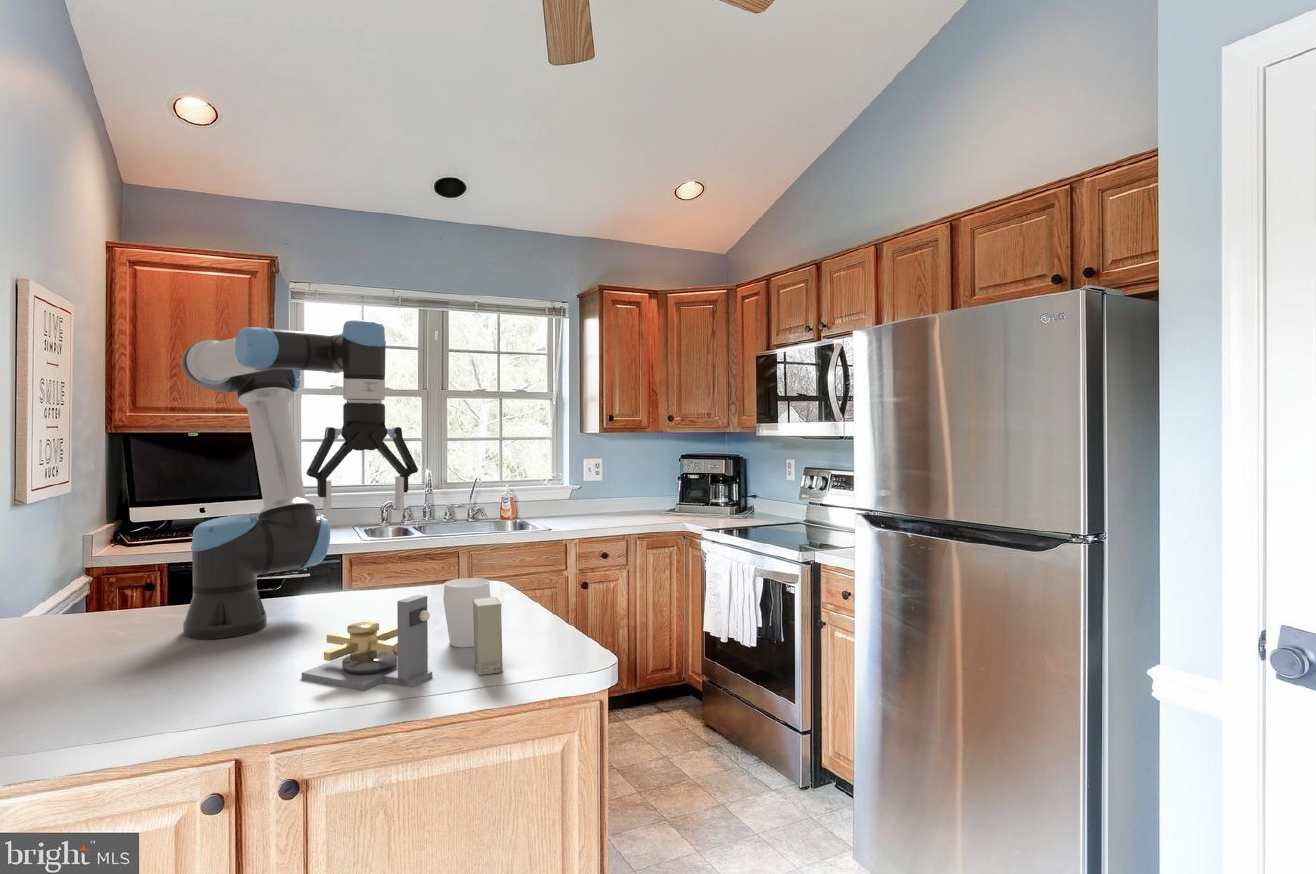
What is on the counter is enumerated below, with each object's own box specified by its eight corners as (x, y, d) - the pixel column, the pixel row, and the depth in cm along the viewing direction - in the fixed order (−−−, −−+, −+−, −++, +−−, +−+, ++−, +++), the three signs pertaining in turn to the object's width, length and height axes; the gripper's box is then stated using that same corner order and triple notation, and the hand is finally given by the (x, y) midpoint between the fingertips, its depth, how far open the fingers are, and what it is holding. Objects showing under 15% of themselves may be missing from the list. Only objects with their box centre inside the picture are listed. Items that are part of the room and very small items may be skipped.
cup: (478, 651, 144) (478, 588, 143) (435, 648, 145) (434, 586, 145) (497, 637, 152) (497, 578, 152) (456, 635, 154) (456, 576, 154)
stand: (301, 678, 129) (300, 597, 128) (363, 654, 141) (363, 580, 141) (394, 696, 120) (394, 609, 120) (451, 669, 133) (451, 591, 133)
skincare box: (503, 673, 132) (502, 604, 131) (477, 676, 130) (476, 606, 130) (497, 662, 137) (497, 596, 137) (472, 664, 136) (472, 597, 136)
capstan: (292, 671, 128) (291, 632, 128) (363, 645, 143) (363, 610, 142) (369, 686, 121) (368, 644, 121) (435, 657, 136) (435, 620, 136)
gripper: (299, 400, 134) (299, 519, 135) (434, 403, 150) (434, 509, 150) (289, 400, 140) (289, 514, 141) (420, 402, 155) (420, 505, 156)
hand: (364, 512), depth 146 cm, fingers open, 13 cm apart
